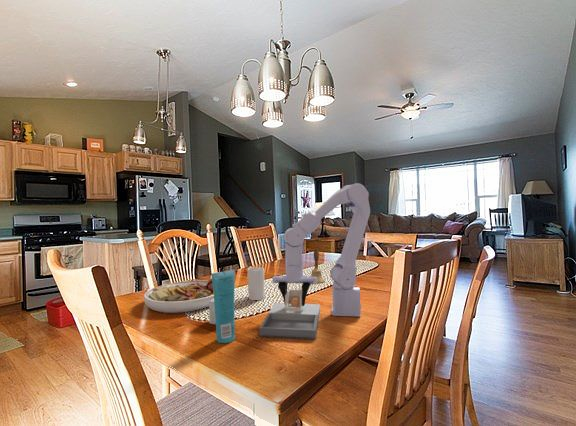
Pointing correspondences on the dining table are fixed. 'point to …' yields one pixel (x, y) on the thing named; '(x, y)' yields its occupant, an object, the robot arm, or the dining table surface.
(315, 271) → the hand bell
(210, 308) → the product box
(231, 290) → the tube
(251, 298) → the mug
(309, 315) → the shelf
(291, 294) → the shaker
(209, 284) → the bowl
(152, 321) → the dining table surface
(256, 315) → the dining table surface
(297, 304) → the ball
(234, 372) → the dining table surface
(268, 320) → the tray
